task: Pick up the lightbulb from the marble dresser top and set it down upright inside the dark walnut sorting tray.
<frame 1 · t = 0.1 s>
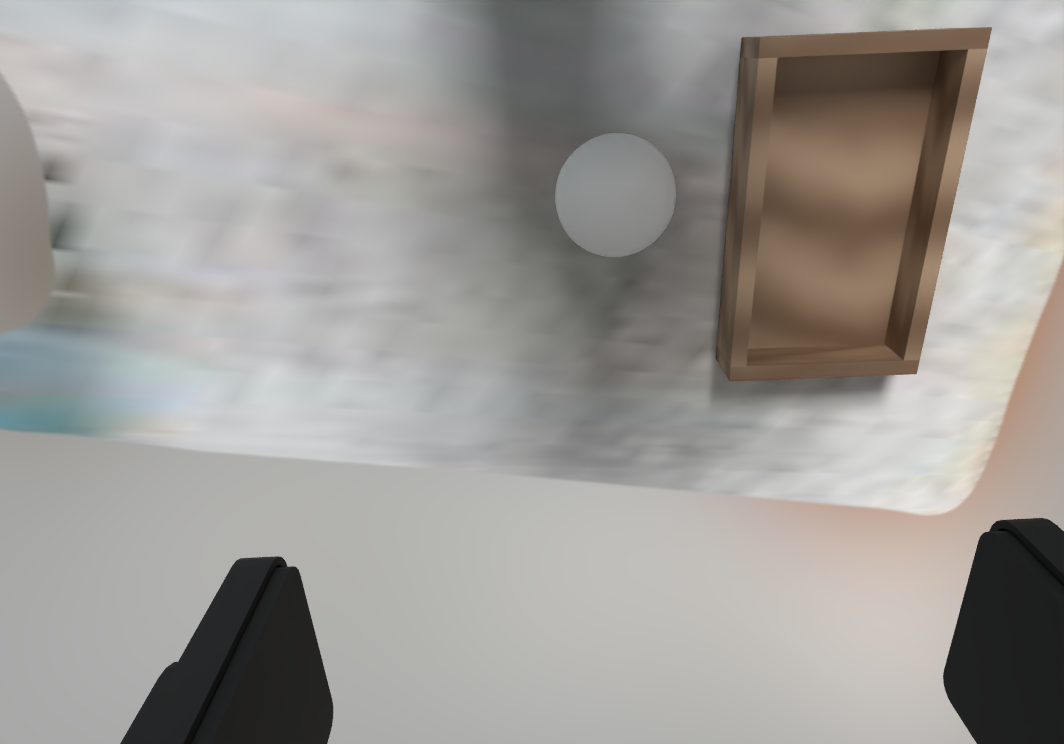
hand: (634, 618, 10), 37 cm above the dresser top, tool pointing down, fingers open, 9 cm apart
lightbulb: (600, 169, 43), on the dresser top
walnut tray: (823, 209, 44), on the dresser top
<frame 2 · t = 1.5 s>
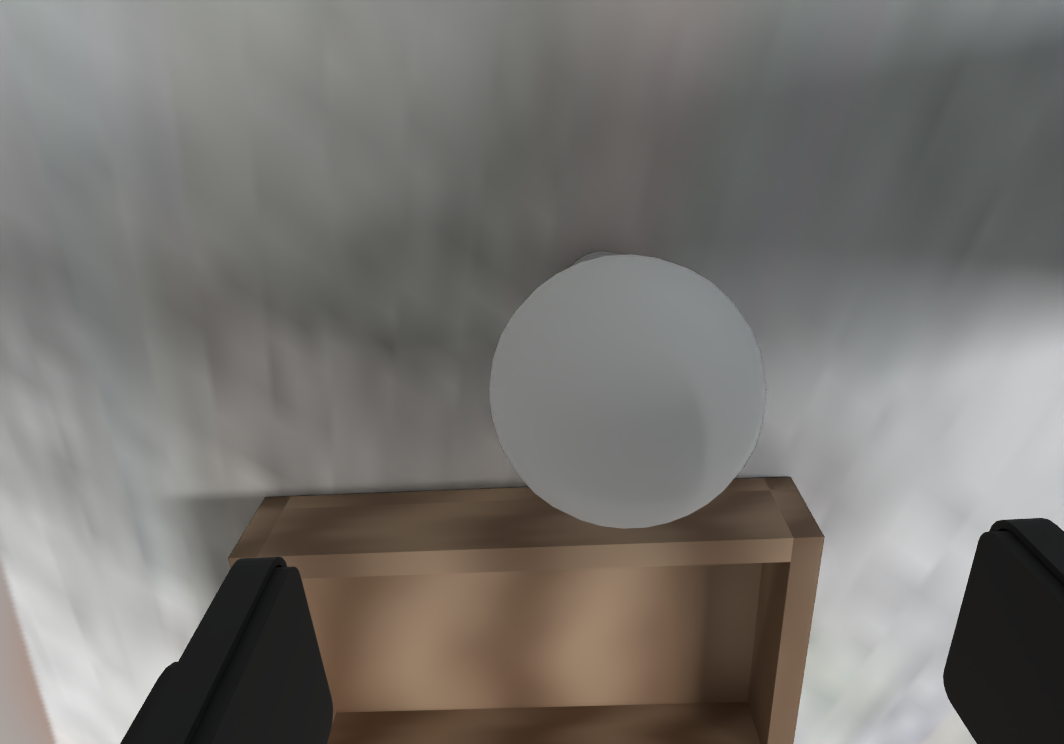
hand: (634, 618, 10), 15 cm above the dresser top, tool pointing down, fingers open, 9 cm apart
lightbulb: (599, 279, 23), on the dresser top
walnut tray: (533, 607, 29), on the dresser top
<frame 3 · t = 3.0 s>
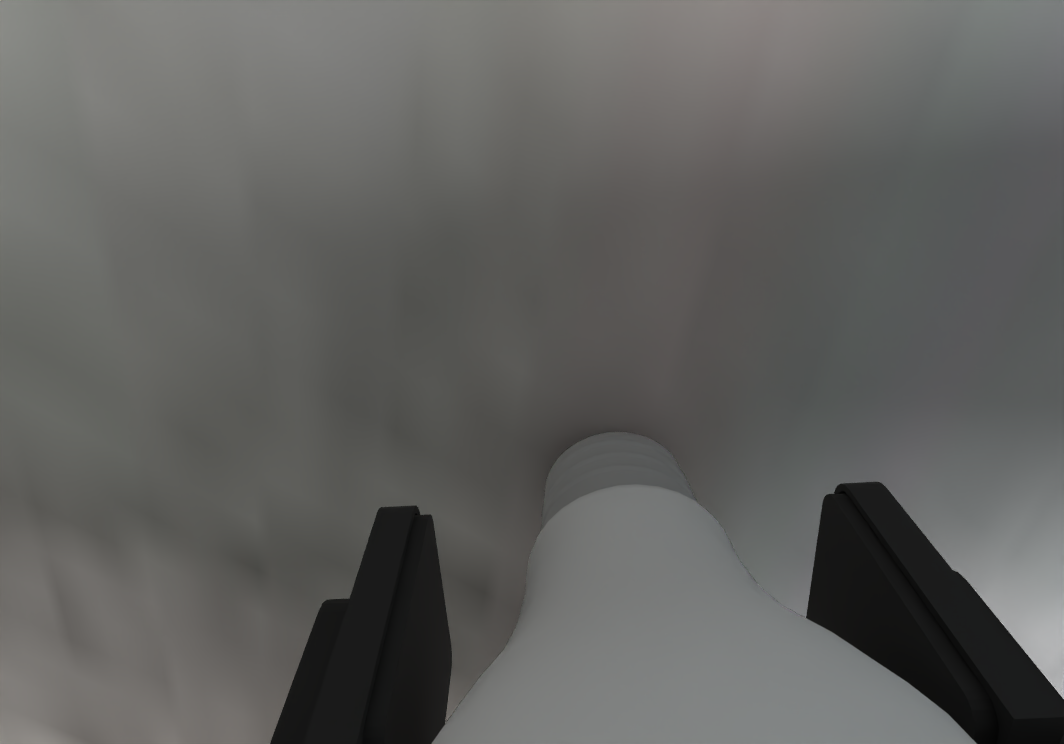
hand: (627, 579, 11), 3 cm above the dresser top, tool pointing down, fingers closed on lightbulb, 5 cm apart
lightbulb: (608, 461, 13), on the dresser top, touching gripper
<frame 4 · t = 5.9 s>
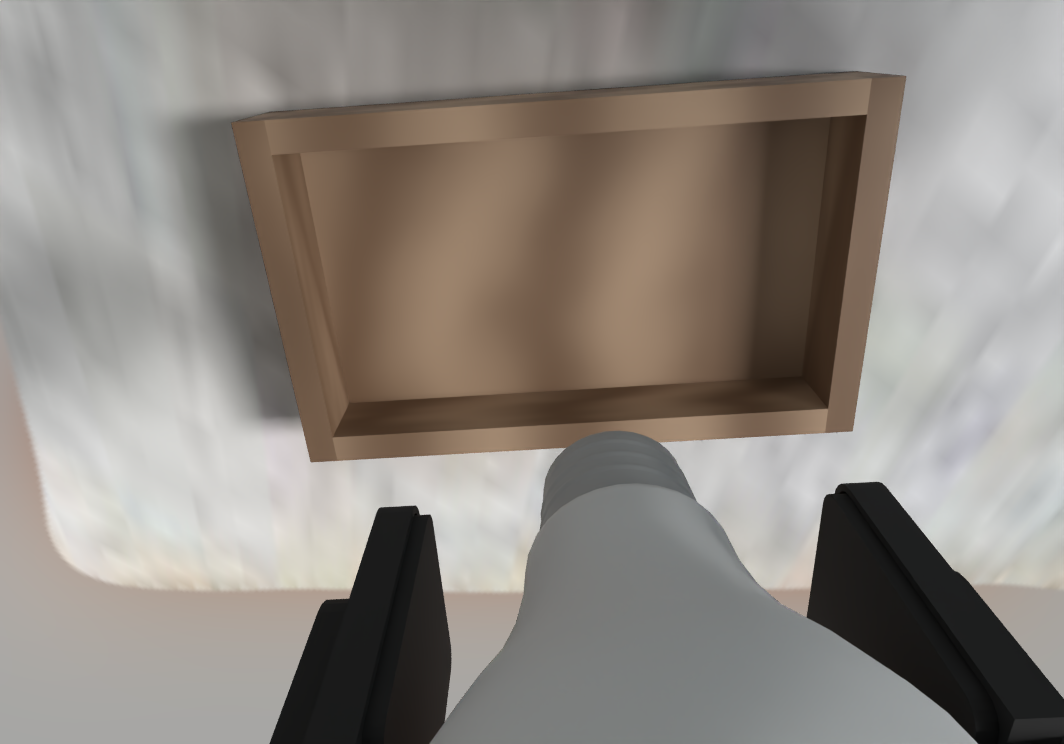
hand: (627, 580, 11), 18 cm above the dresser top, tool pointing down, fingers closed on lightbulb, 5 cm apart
lightbulb: (607, 460, 13), point 14 cm above the dresser top, touching gripper
walnut tray: (567, 262, 26), on the dresser top
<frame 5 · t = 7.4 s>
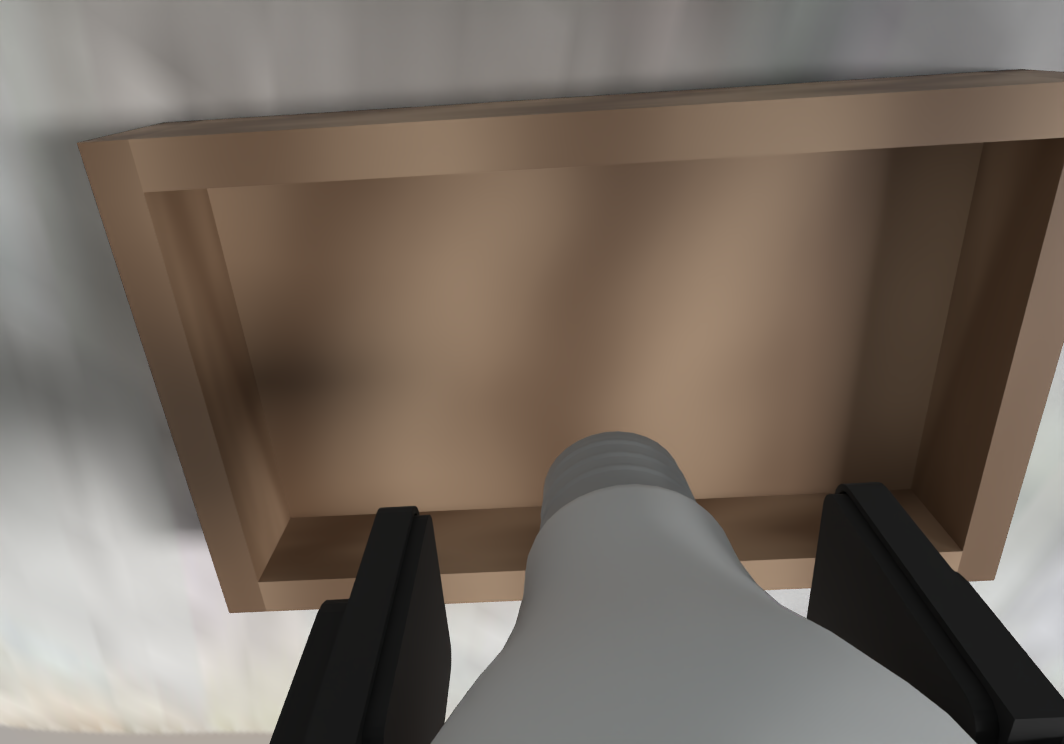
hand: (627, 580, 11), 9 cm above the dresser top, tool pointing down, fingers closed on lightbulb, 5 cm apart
lightbulb: (607, 461, 13), point 6 cm above the dresser top, touching gripper
walnut tray: (591, 334, 19), on the dresser top
when the fingers open (5 cm above the dresser top, at t = 8.7 s): lightbulb drops 1 cm, resting on walnut tray.
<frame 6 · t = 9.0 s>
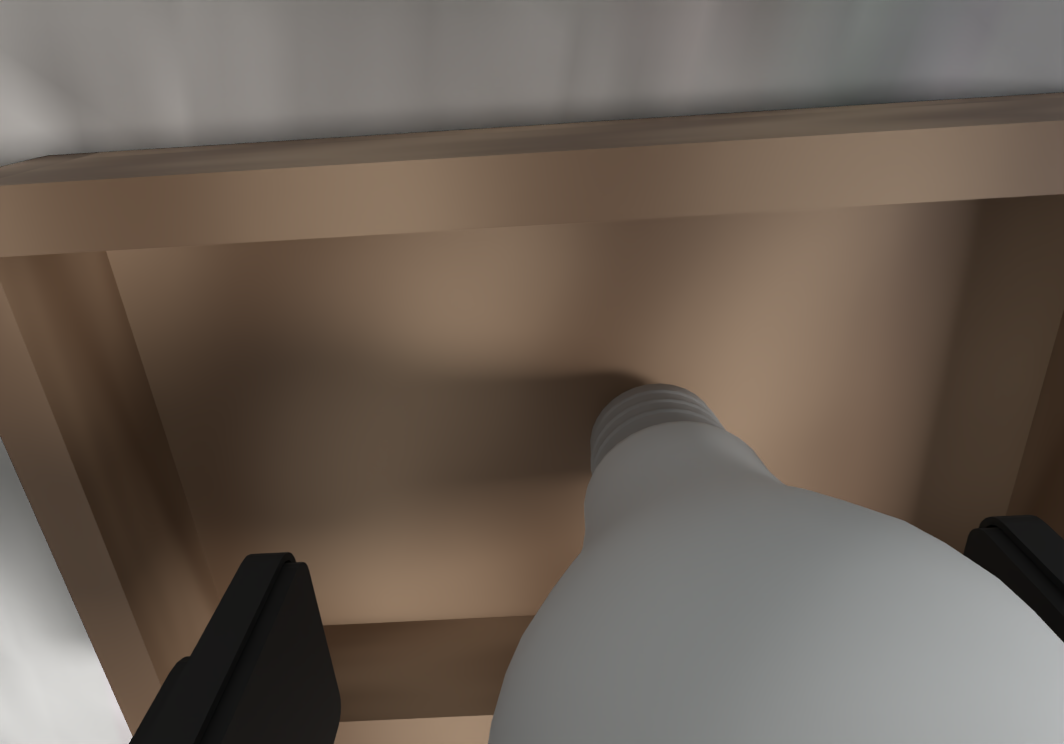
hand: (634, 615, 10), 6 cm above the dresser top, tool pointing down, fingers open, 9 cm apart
lightbulb: (644, 416, 15), point 1 cm above the dresser top, touching walnut tray
walnut tray: (595, 411, 15), on the dresser top
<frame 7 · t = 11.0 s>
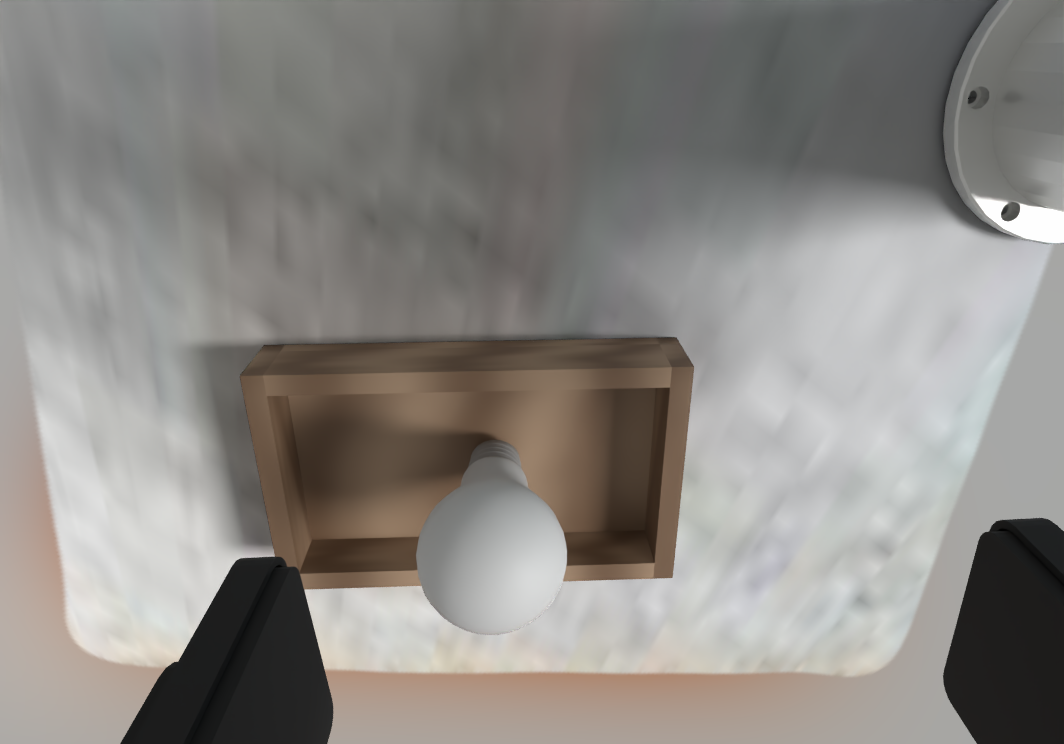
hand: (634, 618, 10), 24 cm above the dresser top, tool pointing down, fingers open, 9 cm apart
lightbulb: (495, 450, 36), point 1 cm above the dresser top, touching walnut tray
walnut tray: (476, 447, 37), on the dresser top
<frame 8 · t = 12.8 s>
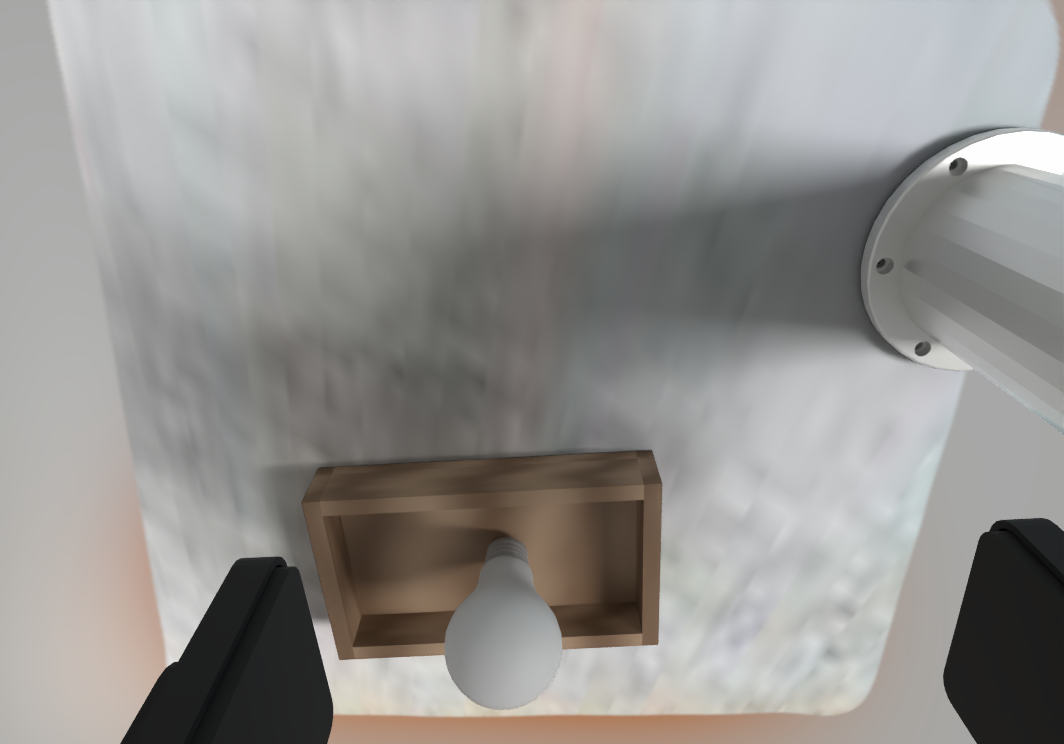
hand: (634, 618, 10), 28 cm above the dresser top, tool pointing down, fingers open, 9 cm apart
lightbulb: (507, 542, 44), point 1 cm above the dresser top, touching walnut tray
walnut tray: (492, 539, 44), on the dresser top
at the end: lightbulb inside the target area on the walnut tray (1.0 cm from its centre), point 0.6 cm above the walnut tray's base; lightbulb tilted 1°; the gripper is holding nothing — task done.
